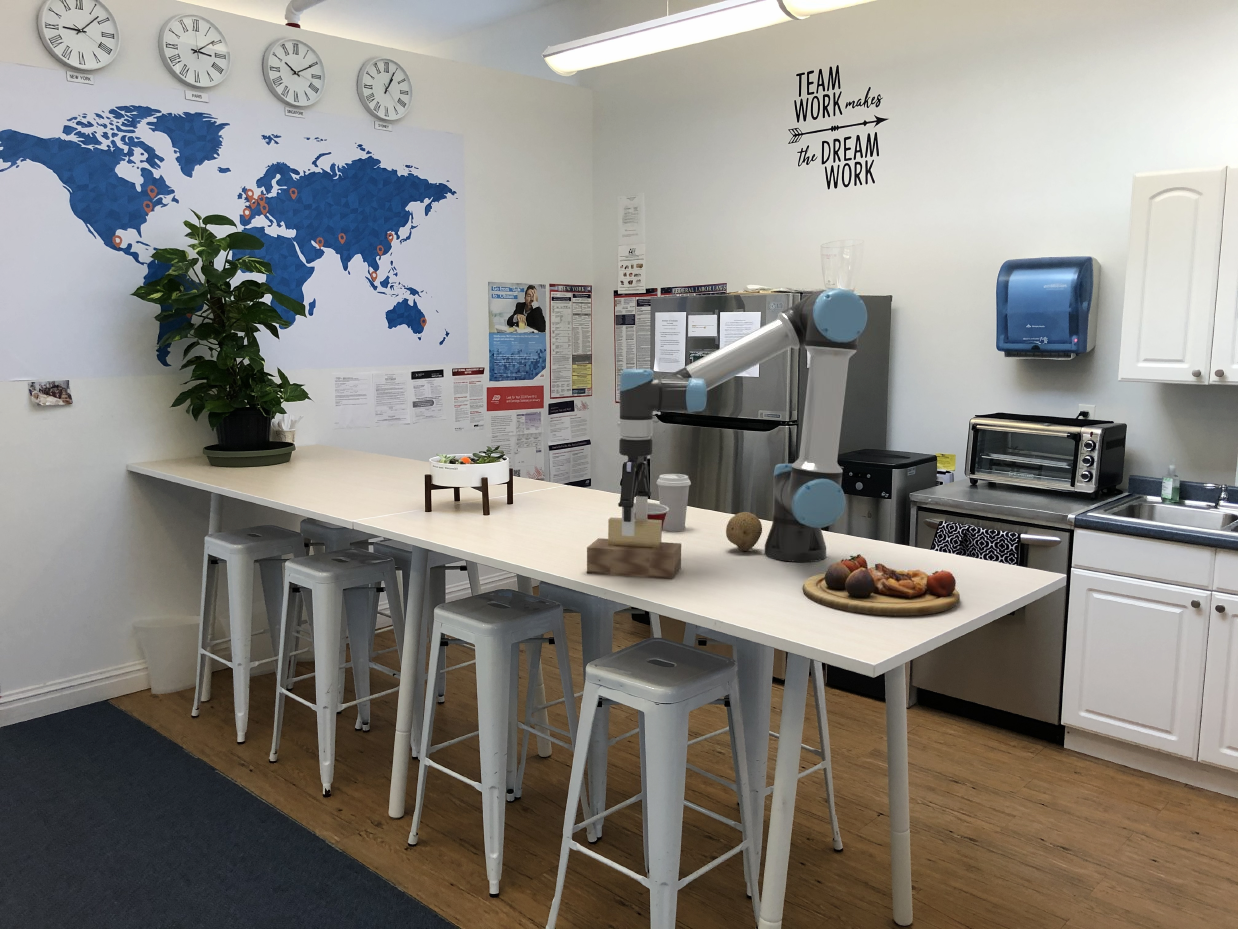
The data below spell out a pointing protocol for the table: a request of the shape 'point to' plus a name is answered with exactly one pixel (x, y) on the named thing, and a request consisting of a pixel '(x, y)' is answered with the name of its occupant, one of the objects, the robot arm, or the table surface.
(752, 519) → the natural sponge
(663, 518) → the plastic cup
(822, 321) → the robot arm
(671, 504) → the coffee cup
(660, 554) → the slotted block
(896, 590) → the wooden plate with food
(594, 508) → the table surface
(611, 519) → the light wooden block
